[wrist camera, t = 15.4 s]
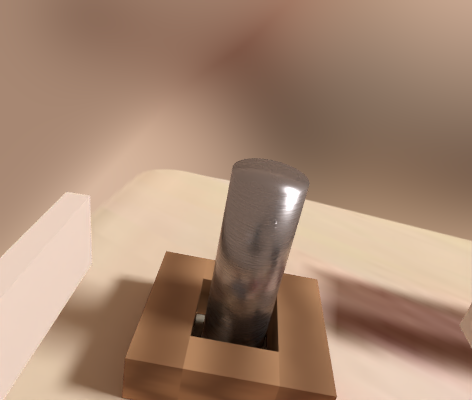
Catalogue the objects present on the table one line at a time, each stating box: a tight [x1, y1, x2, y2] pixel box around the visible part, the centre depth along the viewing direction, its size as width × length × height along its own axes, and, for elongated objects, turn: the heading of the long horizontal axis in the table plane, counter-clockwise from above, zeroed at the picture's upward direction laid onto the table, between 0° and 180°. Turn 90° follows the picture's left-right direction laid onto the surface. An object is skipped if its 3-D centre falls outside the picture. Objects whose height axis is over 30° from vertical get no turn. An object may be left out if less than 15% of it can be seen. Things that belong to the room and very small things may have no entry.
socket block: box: [122, 251, 337, 400], centre depth 32 cm, size 14×12×4 cm
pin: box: [201, 158, 309, 349], centre depth 30 cm, size 5×5×16 cm
